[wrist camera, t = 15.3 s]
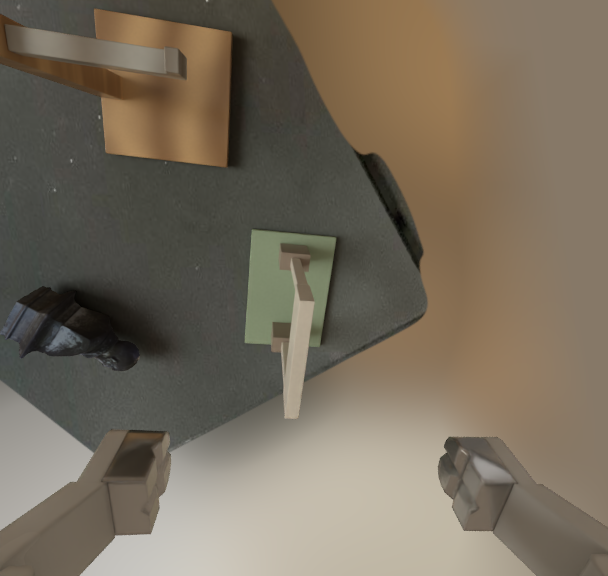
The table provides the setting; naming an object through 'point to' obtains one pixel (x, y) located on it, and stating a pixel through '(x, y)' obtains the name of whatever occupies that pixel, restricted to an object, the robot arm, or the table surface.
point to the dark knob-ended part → (66, 330)
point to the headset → (294, 327)
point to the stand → (140, 81)
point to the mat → (285, 283)
